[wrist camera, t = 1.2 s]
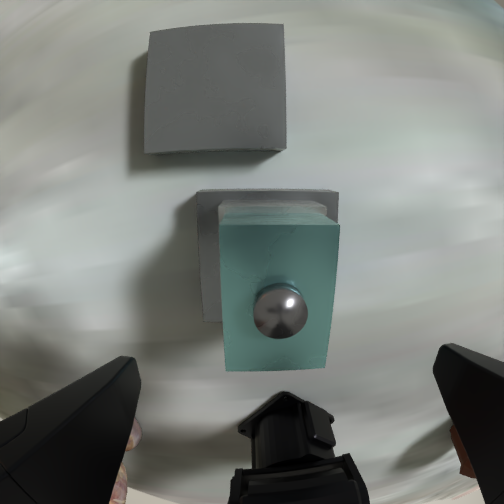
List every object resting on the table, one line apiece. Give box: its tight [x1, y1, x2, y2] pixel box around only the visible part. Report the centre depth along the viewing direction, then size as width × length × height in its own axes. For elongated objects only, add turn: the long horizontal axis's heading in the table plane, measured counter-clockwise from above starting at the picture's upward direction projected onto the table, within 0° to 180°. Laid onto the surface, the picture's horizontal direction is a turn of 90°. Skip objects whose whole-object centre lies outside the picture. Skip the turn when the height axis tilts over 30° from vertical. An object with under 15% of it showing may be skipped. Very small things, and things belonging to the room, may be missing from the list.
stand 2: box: [196, 189, 339, 322], centre depth 18 cm, size 8×8×2 cm
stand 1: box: [144, 23, 286, 155], centre depth 15 cm, size 8×8×2 cm
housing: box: [218, 200, 340, 371], centre depth 14 cm, size 7×5×7 cm
